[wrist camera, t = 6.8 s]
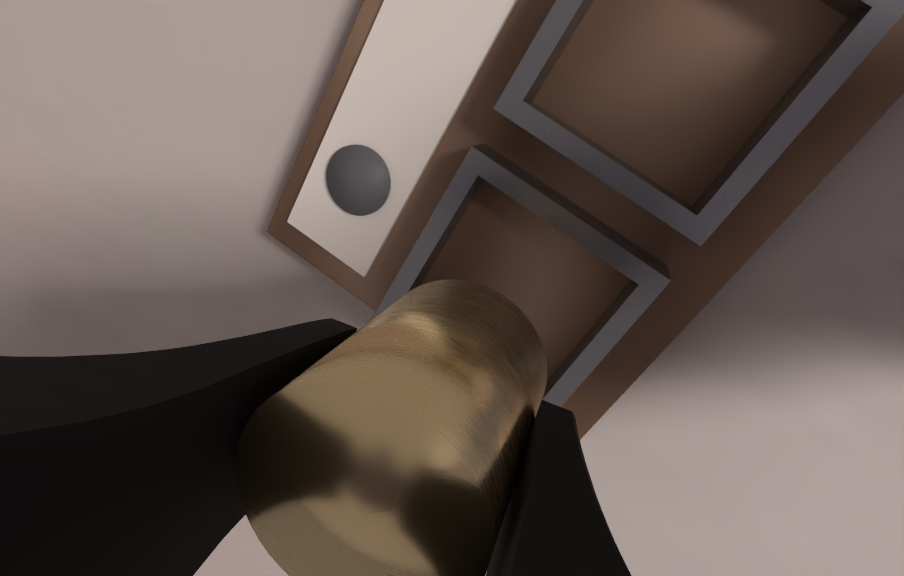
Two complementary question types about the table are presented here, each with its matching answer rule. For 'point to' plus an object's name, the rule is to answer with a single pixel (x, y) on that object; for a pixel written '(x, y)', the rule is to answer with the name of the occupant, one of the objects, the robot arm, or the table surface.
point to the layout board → (581, 157)
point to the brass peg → (398, 440)
